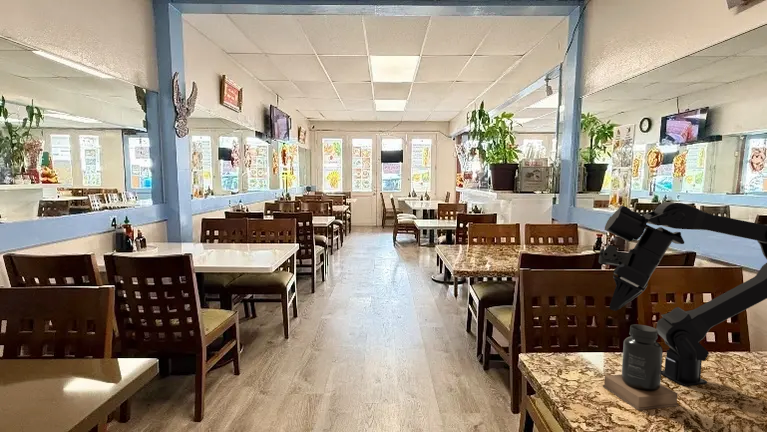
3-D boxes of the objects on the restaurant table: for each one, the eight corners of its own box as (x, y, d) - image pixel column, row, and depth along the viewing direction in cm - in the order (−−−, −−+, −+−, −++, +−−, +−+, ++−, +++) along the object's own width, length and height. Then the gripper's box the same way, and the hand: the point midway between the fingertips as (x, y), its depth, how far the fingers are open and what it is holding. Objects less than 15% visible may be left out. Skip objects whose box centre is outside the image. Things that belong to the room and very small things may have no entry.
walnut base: (639, 383, 89) (640, 372, 88) (678, 405, 79) (679, 393, 79) (602, 386, 87) (603, 375, 87) (638, 410, 78) (638, 397, 77)
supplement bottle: (668, 391, 80) (672, 333, 79) (638, 393, 79) (641, 334, 78) (642, 375, 87) (645, 321, 86) (613, 377, 86) (617, 322, 85)
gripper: (614, 241, 104) (583, 292, 105) (609, 228, 88) (573, 289, 90) (661, 262, 97) (627, 317, 99) (664, 253, 82) (624, 317, 84)
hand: (612, 309), depth 93 cm, fingers open, 9 cm apart
